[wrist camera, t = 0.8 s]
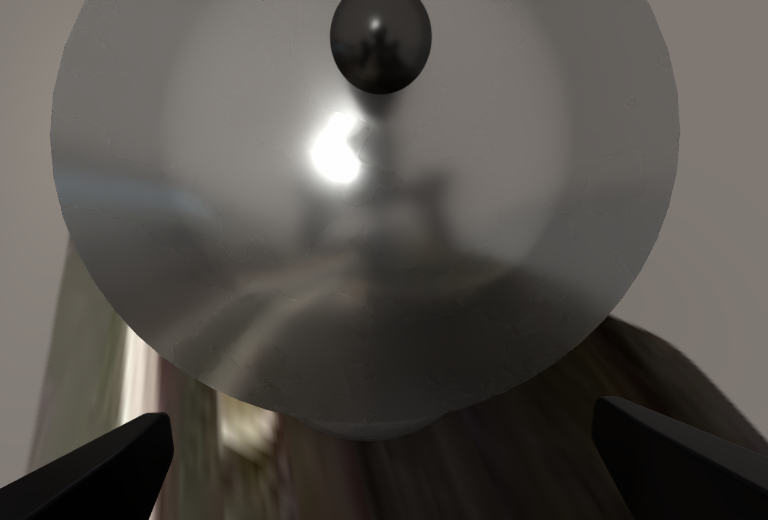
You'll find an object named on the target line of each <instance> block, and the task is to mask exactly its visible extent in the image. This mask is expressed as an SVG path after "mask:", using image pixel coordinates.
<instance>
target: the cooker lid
mask: <svg viewBox="0 0 768 520" xmlns="http://www.w3.org/2000/svg"><path fill="white" fill-rule="evenodd" d="M679 138H680V125H679V110H678V94H677V88H676V84H675V79H674V75H673V71H672V66H671V61H670V57H669V52H668V49H667V46H666V44H665V41H664V39H663V36H662V34H661V31H660V29H659V26H658V24H657V21H656V19H655V16H654V14H653V11H652V9H651V7H650V5H649V3H648V2H647V0H85V2H84V4H83V6H82V8H81V11H80V13H79V15H78V17H77V20H76V22H75V25H74V27H73V29H72V31H71V33H70V36H69V38H68V40H67V43H66V45H65V47H64V51H63V55H62V59H61V64H60V68H59V72H58V76H57V80H56V84H55V88H54V92H53V105H52V118H51V131H50V140H51V153H52V164H53V176H54V182H55V186H56V190H57V194H58V198H59V202H60V206H61V211H62V215H63V218H64V221H65V223H66V226H67V228H68V231H69V233H70V236H71V238H72V241H73V243H74V246H75V248H76V251H77V253H78V255H79V256H80V258H81V260H82V262H83V264H84V265H85V267H86V269H87V271H88V273H89V274H90V276H91V278H92V280H93V281H94V283H95V285H96V286H97V287H98V289H99V290H100V291H101V293H102V294H103V295H104V297H105V298H106V300H107V301H108V302H109V304H110V305H111V306H112V308H113V309H114V310H115V312H116V313H117V314H118V315H119V316H120V317H121V318H122V319H123V320H124V321H125V322H126V323H127V325H128V326H129V327H130V328H131V329H132V330H133V331H134V332H135V333H136V334H137V335H138V336H139V337H140V338H141V339H142V340H144V341H145V342H146V343H147V344H148V345H149V346H151V347H152V348H153V349H154V350H155V351H156V352H157V353H159V354H160V355H161V356H162V357H164V358H165V359H167V360H168V361H169V362H171V363H172V364H174V365H175V366H177V367H178V368H179V369H181V370H182V371H184V372H185V373H187V374H188V375H190V376H192V377H194V378H195V379H197V380H199V381H201V382H202V383H204V384H206V385H208V386H210V387H211V388H213V389H215V390H218V391H220V392H222V393H224V394H227V395H229V396H231V397H233V398H236V399H238V400H240V401H243V402H246V403H249V404H252V405H255V406H258V407H260V408H263V409H266V410H270V411H274V412H278V413H282V414H286V415H290V416H294V417H300V418H306V419H312V420H319V421H327V422H340V423H385V422H397V421H407V420H413V419H419V418H425V417H431V416H435V415H439V414H443V413H447V412H451V411H455V410H459V409H462V408H465V407H468V406H471V405H474V404H476V403H479V402H482V401H485V400H487V399H490V398H492V397H494V396H497V395H499V394H501V393H503V392H506V391H508V390H510V389H512V388H514V387H516V386H518V385H519V384H521V383H523V382H525V381H527V380H529V379H530V378H532V377H534V376H536V375H537V374H539V373H540V372H542V371H543V370H545V369H546V368H548V367H549V366H551V365H552V364H554V363H555V362H557V361H558V360H560V359H561V358H562V357H563V356H565V355H566V354H567V353H568V352H570V351H571V350H572V349H573V348H575V347H576V346H577V345H578V344H580V343H581V342H582V341H583V340H584V339H585V338H586V337H587V336H588V335H589V334H590V333H591V332H592V331H593V330H594V329H595V328H596V327H597V326H598V325H599V324H600V323H601V322H602V321H603V320H604V319H605V318H606V317H607V316H608V314H609V313H610V312H611V311H612V310H613V308H614V307H615V306H616V305H617V304H618V302H619V301H620V300H621V299H622V298H623V296H624V295H625V293H626V292H627V290H628V289H629V287H630V286H631V284H632V283H633V281H634V280H635V278H636V277H637V275H638V274H639V272H640V271H641V269H642V267H643V265H644V263H645V262H646V260H647V258H648V256H649V254H650V252H651V250H652V248H653V246H654V244H655V242H656V240H657V237H658V235H659V232H660V229H661V226H662V224H663V221H664V218H665V216H666V213H667V210H668V207H669V203H670V199H671V194H672V190H673V185H674V181H675V176H676V172H677V162H678V150H679Z"/></svg>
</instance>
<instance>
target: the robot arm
mask: <svg viewBox="0 0 768 520" xmlns="http://www.w3.org/2000/svg"><path fill="white" fill-rule="evenodd" d="M591 432H592V439H593V442H594V444H595V446H596V448H597V450H598V452H599V454H600V456H601V457H602V459H603V461H604V463H605V465H606V467H607V469H608V471H609V473H610V475H611V476H612V478H613V480H614V482H615V484H616V486H617V488H618V490H619V492H620V494H621V495H622V497H623V499H624V501H625V503H626V505H627V506H628V508H629V510H630V512H631V513H632V515H633V517H634V518H635V520H768V457H766V456H763V455H761V454H758V453H756V452H753V451H751V450H748V449H746V448H743V447H741V446H739V445H736V444H734V443H731V442H729V441H726V440H724V439H721V438H719V437H716V436H714V435H711V434H709V433H706V432H704V431H702V430H699V429H697V428H694V427H692V426H689V425H687V424H684V423H682V422H679V421H677V420H674V419H672V418H669V417H667V416H665V415H662V414H660V413H657V412H655V411H652V410H650V409H647V408H645V407H642V406H640V405H637V404H635V403H632V402H630V401H628V400H625V399H623V398H620V397H616V396H610V397H599V398H598V399H597V400H596V402H595V406H594V414H593V422H592V431H591ZM173 454H174V445H173V438H172V430H171V423H170V418H169V416H168V414H166V413H164V412H158V413H145V414H143V415H141V416H139V417H137V418H135V419H133V420H131V421H129V422H127V423H125V424H124V425H122V426H120V427H118V428H116V429H114V430H112V431H110V432H108V433H106V434H104V435H102V436H100V437H99V438H97V439H95V440H93V441H91V442H89V443H87V444H85V445H83V446H81V447H79V448H77V449H75V450H74V451H72V452H70V453H68V454H66V455H64V456H62V457H60V458H58V459H56V460H54V461H52V462H50V463H49V464H47V465H45V466H43V467H41V468H39V469H37V470H35V471H33V472H31V473H29V474H27V475H25V476H24V477H22V478H20V479H18V480H16V481H14V482H12V483H10V484H8V485H6V486H4V487H3V488H0V520H149V517H150V515H151V512H152V510H153V507H154V505H155V502H156V500H157V497H158V495H159V492H160V490H161V487H162V485H163V482H164V479H165V477H166V474H167V472H168V469H169V467H170V464H171V462H172V459H173Z"/></svg>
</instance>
